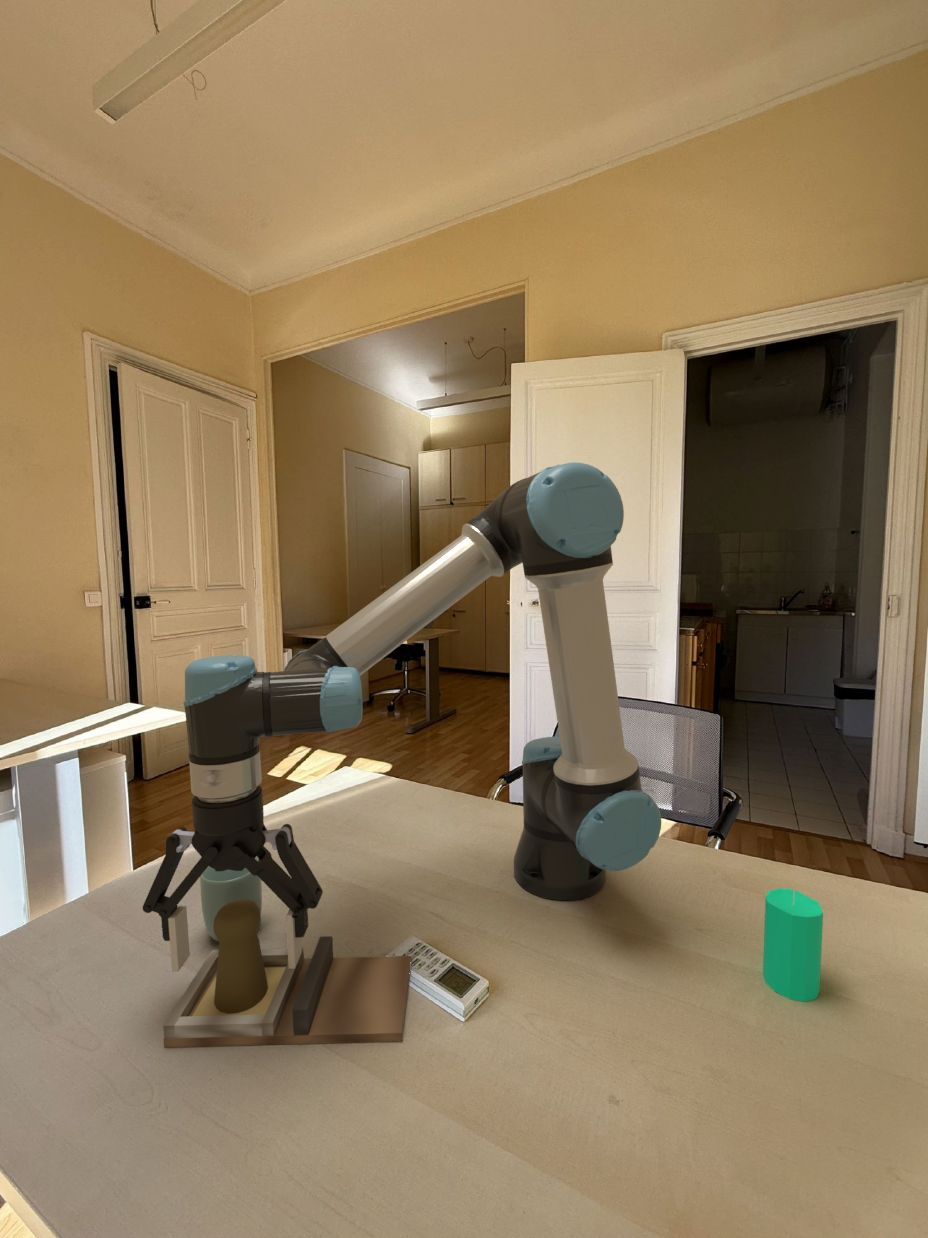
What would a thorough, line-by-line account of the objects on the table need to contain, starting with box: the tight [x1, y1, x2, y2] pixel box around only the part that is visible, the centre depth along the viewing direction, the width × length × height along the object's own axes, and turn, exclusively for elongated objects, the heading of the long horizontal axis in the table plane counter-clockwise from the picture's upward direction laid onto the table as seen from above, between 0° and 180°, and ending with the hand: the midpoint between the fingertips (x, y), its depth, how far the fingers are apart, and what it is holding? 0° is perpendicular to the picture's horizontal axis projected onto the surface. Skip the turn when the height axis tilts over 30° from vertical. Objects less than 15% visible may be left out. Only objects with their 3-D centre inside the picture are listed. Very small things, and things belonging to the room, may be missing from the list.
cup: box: [199, 856, 263, 942], centre depth 79 cm, size 8×8×10 cm
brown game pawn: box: [214, 899, 268, 1014], centre depth 66 cm, size 6×6×11 cm
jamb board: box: [162, 935, 412, 1048], centre depth 66 cm, size 26×12×4 cm, turn 90°
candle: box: [762, 887, 824, 1003], centre depth 67 cm, size 6×6×12 cm
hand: (238, 962), depth 66 cm, fingers open, 13 cm apart
